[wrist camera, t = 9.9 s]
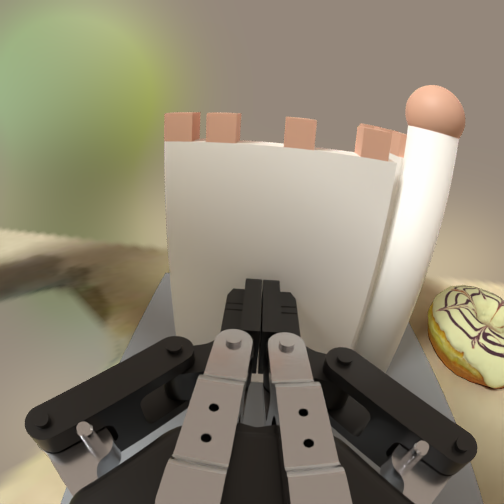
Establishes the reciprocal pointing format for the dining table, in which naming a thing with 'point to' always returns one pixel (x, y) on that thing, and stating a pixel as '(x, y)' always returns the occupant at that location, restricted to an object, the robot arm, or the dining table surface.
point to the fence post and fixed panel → (410, 219)
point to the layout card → (400, 369)
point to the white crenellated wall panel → (273, 222)
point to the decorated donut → (469, 333)
